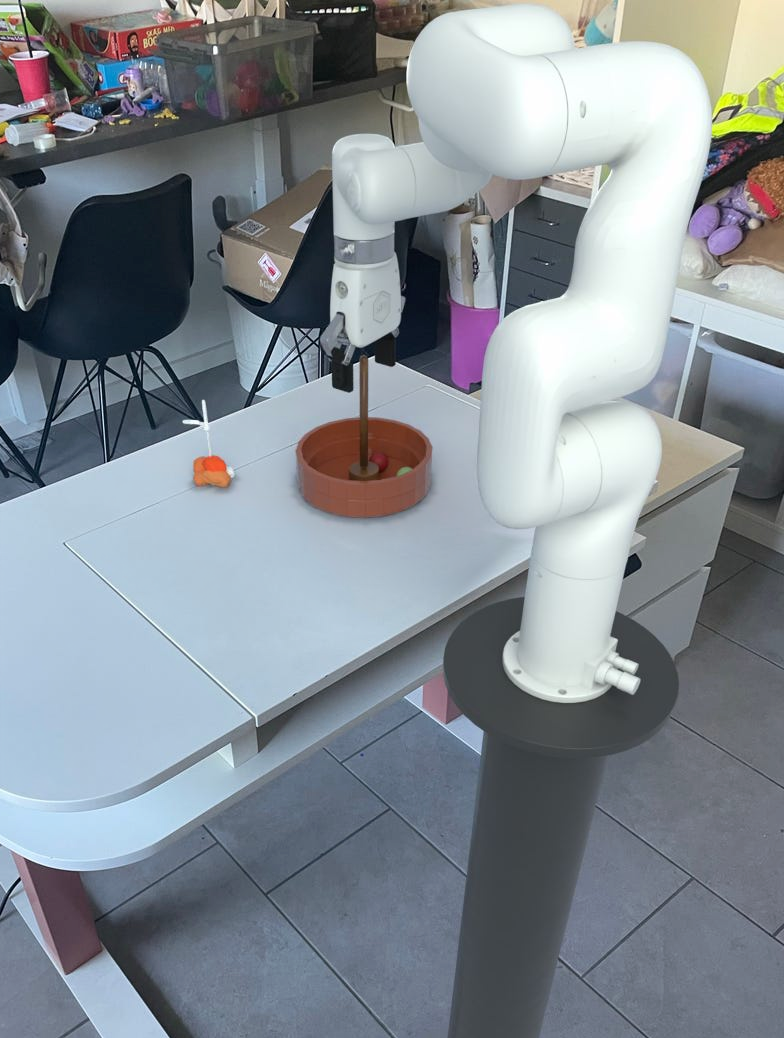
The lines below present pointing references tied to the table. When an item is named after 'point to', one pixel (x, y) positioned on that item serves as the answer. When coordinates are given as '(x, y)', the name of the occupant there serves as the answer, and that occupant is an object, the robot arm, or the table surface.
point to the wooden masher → (363, 432)
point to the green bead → (403, 470)
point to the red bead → (379, 460)
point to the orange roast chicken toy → (210, 462)
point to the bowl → (339, 447)
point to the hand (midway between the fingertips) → (364, 376)
